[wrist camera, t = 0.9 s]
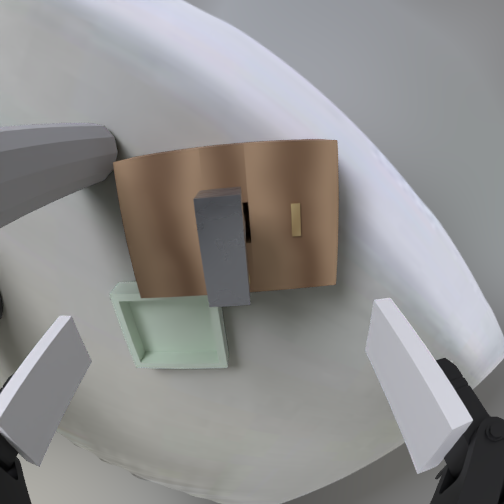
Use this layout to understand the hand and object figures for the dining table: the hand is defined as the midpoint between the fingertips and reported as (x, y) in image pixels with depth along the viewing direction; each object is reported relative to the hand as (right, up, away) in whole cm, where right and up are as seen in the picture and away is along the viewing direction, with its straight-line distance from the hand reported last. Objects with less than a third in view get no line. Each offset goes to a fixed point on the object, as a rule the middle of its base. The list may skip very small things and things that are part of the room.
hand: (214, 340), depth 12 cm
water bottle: (-17, +15, +17) cm, 29 cm away
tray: (-9, -5, +26) cm, 28 cm away
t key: (-1, +8, +19) cm, 21 cm away
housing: (-1, +8, +20) cm, 22 cm away
